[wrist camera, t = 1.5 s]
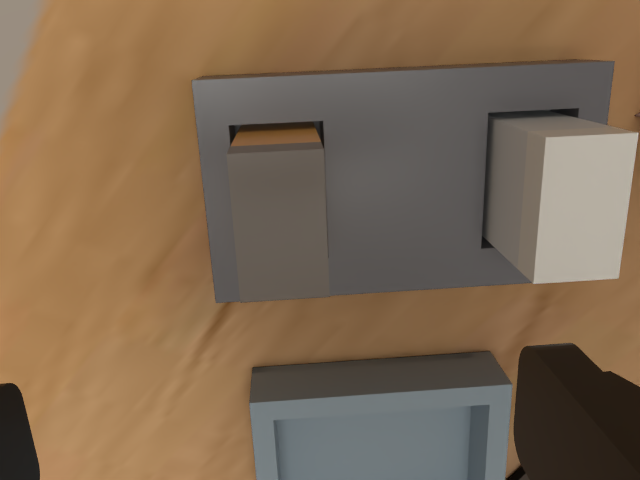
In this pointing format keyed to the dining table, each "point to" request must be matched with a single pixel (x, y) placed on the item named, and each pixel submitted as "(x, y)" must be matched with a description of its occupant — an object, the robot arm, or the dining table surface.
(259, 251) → the block
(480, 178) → the fuse holder
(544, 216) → the block
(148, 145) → the dining table surface
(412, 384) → the parts tray
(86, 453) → the dining table surface
